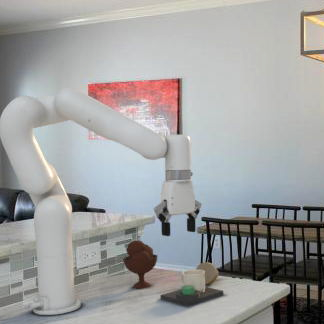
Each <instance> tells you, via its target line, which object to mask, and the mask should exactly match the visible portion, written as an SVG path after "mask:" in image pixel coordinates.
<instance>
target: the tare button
mask: <svg viewBox="0 0 324 324" xmlns="http://www.w3.org/2000/svg"><path fill="white" fill-rule="evenodd" d="M181 289H182V294H183V295H191V294H195V288H194V286H192V285H186V286H183V287H182V286H181Z"/></svg>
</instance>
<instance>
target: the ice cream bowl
mask: <svg viewBox="0 0 324 324" xmlns="http://www.w3.org/2000/svg"><path fill="white" fill-rule="evenodd" d="M125 251H126V253H127V256H124V257H123V258H122V259H123V260H122V261H123V264H124V266H125V269H127V270H128V271H129V272H131V273H133V274H136V275H137V276H138V281H137V282H136V283H135V284H133V287H132V289H135V290H142V289H143V290H144V289H147V288H150V287H151V284H150V283H149V282H147V281H145V275H146V274H147V273H149V272H150V271H152V270H153V269H154V268H155V266H156V265H157V262H158V256H159V255H158V254H155V253H154V249H153V248H152V247H151V246H150V245H148V244H147V243H144V242H143V241H142V240H133V241H130V242H129V243H128V244H127V247H126V249H125Z"/></svg>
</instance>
